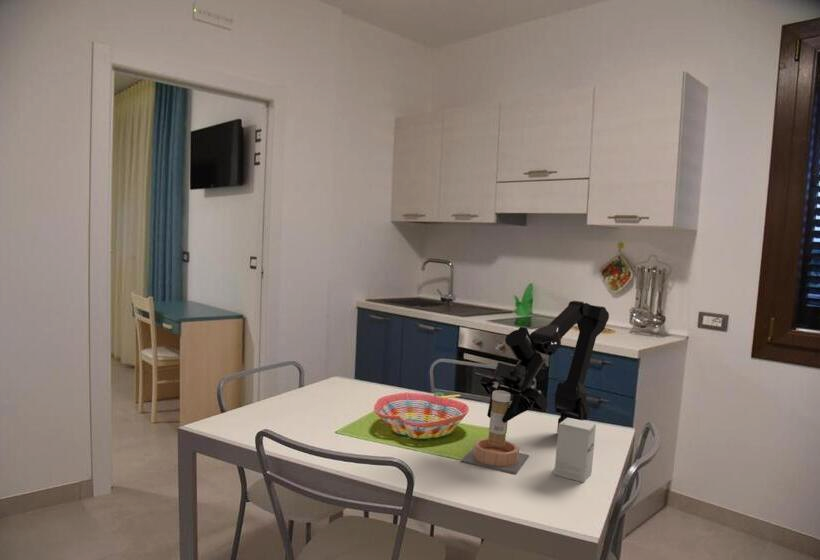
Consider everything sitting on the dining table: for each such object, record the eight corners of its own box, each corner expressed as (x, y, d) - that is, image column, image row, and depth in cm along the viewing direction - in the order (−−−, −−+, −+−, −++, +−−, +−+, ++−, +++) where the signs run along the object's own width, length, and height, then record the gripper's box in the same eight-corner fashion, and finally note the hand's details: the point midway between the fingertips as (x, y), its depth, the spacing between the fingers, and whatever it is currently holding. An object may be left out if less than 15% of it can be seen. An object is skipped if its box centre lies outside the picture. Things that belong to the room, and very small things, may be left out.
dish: (529, 456, 149) (530, 443, 149) (516, 474, 137) (517, 460, 136) (477, 445, 155) (478, 433, 155) (460, 461, 142) (461, 448, 142)
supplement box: (584, 483, 134) (588, 430, 133) (553, 474, 138) (557, 423, 137) (592, 473, 140) (597, 422, 140) (562, 466, 144) (566, 416, 144)
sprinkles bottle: (507, 443, 147) (512, 391, 146) (502, 448, 143) (508, 396, 142) (489, 439, 149) (495, 388, 148) (484, 444, 145) (490, 392, 144)
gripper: (485, 345, 154) (454, 391, 147) (544, 358, 140) (512, 409, 133) (502, 371, 160) (473, 416, 153) (560, 386, 146) (530, 436, 139)
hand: (495, 419), depth 145 cm, fingers closed on sprinkles bottle, 4 cm apart
